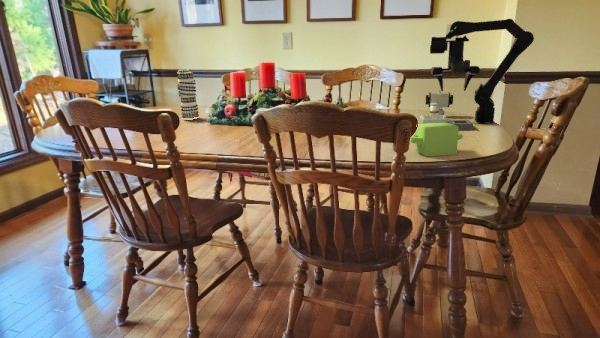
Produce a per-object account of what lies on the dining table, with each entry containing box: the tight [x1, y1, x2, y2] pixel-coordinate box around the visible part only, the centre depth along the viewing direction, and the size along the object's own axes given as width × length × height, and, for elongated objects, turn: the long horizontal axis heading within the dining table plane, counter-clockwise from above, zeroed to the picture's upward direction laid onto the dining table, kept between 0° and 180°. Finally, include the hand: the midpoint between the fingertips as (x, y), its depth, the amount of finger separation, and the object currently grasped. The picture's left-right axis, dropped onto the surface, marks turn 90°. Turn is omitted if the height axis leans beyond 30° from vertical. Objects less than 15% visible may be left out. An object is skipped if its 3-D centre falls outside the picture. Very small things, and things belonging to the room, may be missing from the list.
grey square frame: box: [448, 119, 474, 131], centre depth 165 cm, size 8×8×2 cm
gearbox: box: [410, 122, 464, 157], centre depth 134 cm, size 18×10×10 cm, turn 97°
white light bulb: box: [429, 102, 440, 119], centre depth 175 cm, size 4×4×8 cm
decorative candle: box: [176, 68, 200, 119], centre depth 207 cm, size 9×9×25 cm
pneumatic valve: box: [424, 89, 454, 115], centre depth 187 cm, size 6×12×12 cm, turn 75°
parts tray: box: [419, 114, 449, 124], centre depth 176 cm, size 10×9×3 cm
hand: (453, 91), depth 175 cm, fingers open, 9 cm apart
